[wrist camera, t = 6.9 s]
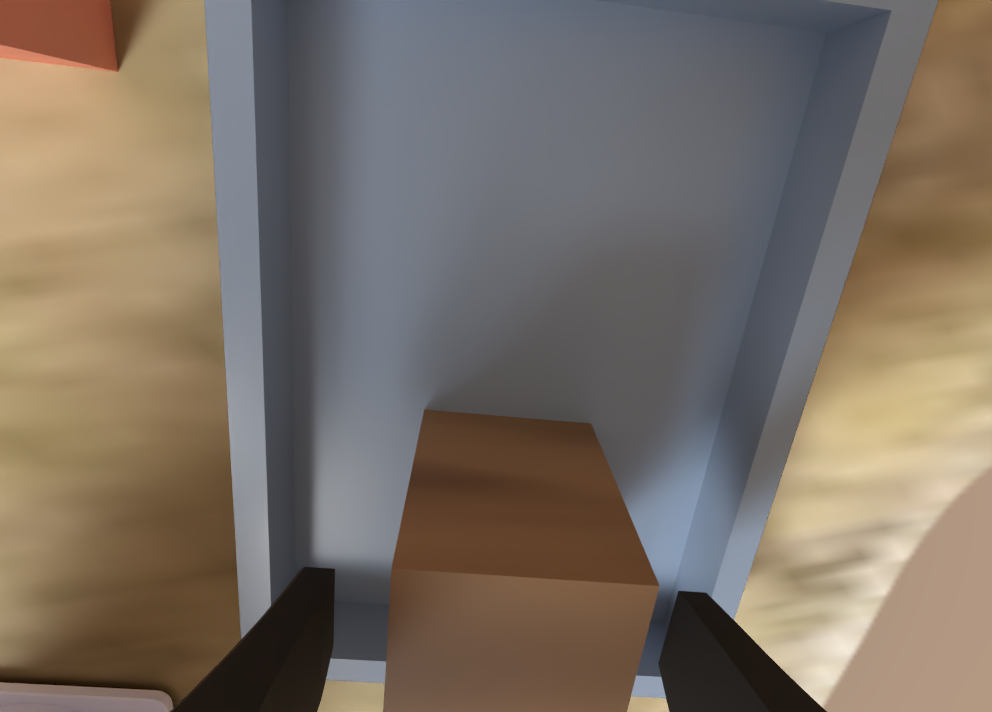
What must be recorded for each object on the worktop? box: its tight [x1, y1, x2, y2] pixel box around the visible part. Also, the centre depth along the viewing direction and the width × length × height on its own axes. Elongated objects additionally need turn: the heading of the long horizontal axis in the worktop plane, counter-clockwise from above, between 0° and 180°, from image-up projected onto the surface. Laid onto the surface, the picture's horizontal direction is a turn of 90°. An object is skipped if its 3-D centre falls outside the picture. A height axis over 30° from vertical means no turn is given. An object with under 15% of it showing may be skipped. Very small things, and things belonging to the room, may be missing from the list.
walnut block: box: [383, 409, 660, 712], centre depth 13 cm, size 4×4×6 cm
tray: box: [204, 0, 938, 698], centre depth 14 cm, size 18×13×3 cm
